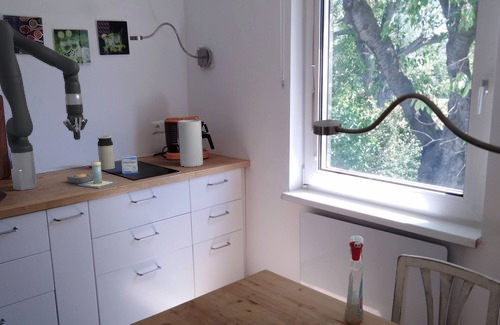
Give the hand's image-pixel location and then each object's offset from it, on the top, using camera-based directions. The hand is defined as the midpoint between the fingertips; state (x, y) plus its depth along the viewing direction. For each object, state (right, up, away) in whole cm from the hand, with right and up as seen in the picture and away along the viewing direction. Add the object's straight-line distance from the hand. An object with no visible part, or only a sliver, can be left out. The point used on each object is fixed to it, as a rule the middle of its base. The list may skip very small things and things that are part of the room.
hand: (77, 139), depth 221 cm
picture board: (+11, -22, -3) cm, 24 cm away
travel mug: (+4, -15, +34) cm, 37 cm away
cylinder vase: (+50, -13, +38) cm, 64 cm away
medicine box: (+20, -17, +21) cm, 34 cm away
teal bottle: (+11, -21, -3) cm, 24 cm away
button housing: (+1, -20, +4) cm, 21 cm away
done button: (0, -19, +4) cm, 20 cm away
